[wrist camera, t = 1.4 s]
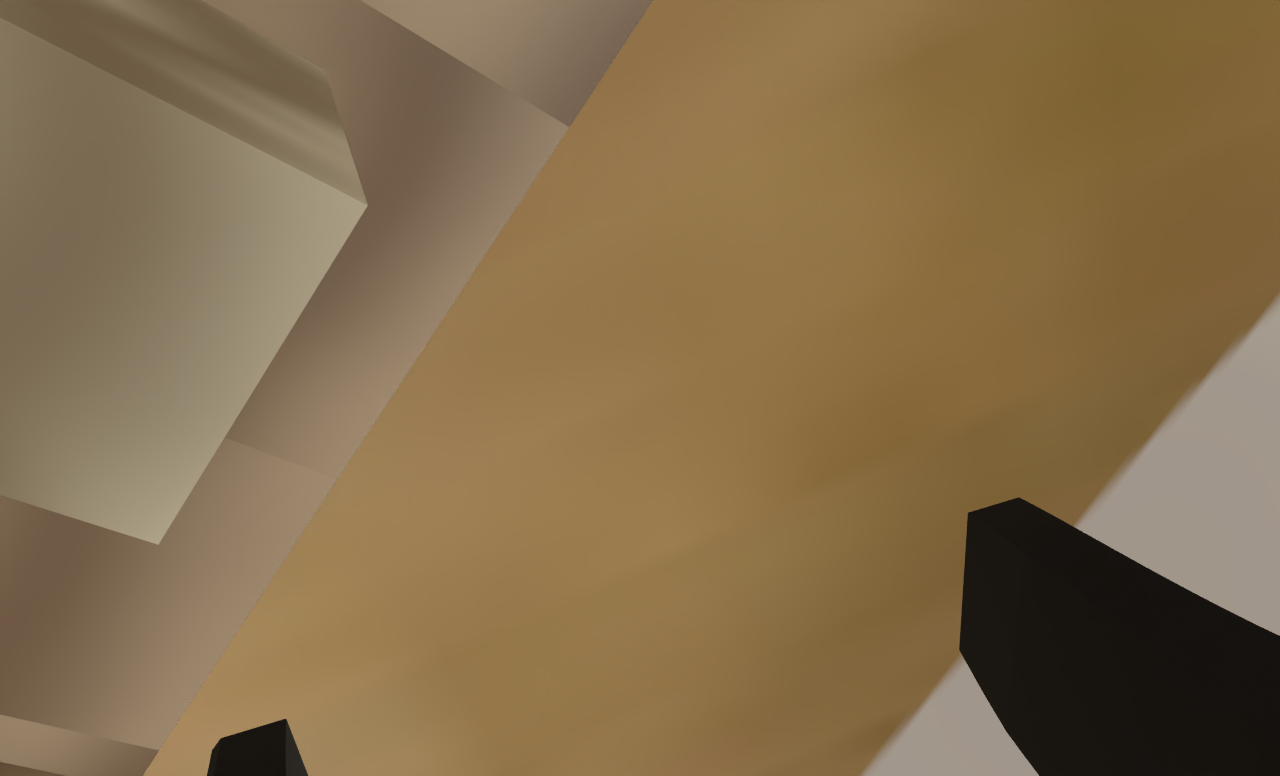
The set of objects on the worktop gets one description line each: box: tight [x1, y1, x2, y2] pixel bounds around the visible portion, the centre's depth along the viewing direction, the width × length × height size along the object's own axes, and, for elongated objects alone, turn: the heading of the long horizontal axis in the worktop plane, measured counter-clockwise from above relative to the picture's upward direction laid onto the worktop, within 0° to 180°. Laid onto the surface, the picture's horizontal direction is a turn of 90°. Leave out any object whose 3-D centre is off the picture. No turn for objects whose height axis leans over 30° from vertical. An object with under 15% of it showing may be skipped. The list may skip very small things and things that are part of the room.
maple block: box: [0, 0, 368, 545], centre depth 13 cm, size 4×4×4 cm
